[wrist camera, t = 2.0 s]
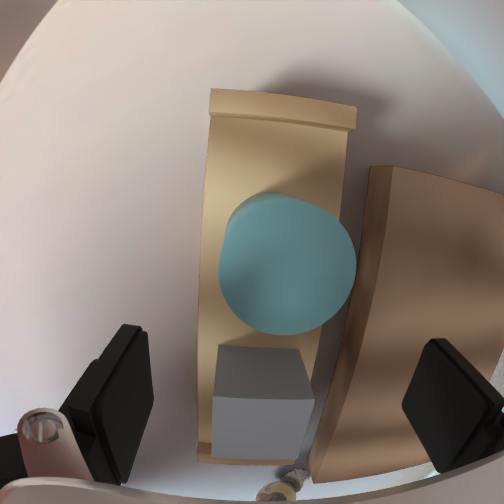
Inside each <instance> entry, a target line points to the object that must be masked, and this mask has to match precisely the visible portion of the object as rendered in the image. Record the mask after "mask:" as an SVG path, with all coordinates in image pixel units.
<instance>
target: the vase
mask: <svg viewBox="0 0 504 504" xmlns="http://www.w3.org/2000/svg"><path fill="white" fill-rule="evenodd" d="M294 470H295V471H293V472H288V473H287V475H285V476H283V477H282V478H281V479H280V482H273V483H270V484H268V485H266V486H264V487H263V488H262V489H261V490H260V491H259V492H258V494H257V496H256V501H296V493H297V492H298V491H300V489H301V488H302V486H303V482H304V480H305V479H306V478H305V477H306V475H307V473H308V471H307V469H306V470H302V469H298V470H297V469H294ZM306 471H307V472H306ZM307 477H308V476H307ZM309 477H310V476H309ZM309 477H308V478H309ZM305 482H306V481H305Z"/></svg>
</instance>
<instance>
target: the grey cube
mask: <svg viewBox="0 0 504 504" xmlns="http://www.w3.org/2000/svg"><path fill="white" fill-rule="evenodd" d="M315 400H316V399H315V396H314V393H313V390H312V387H311V384H310V381H309V378H308V375H307V372H306V369H305V366H304V363H303V360H302V357H301V354H300V351H299V349H286V348H262V347H244V346H230V345H218V352H217V361H216V371H215V381H214V391H213V411H212V448H211V457H213V458H228V459H255V460H279V459H298V456H299V453H300V450H301V447H302V444H303V441H304V437H305V434H306V431H307V428H308V424H309V421H310V417H311V414H312V410H313V407H314V403H315Z"/></svg>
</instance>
